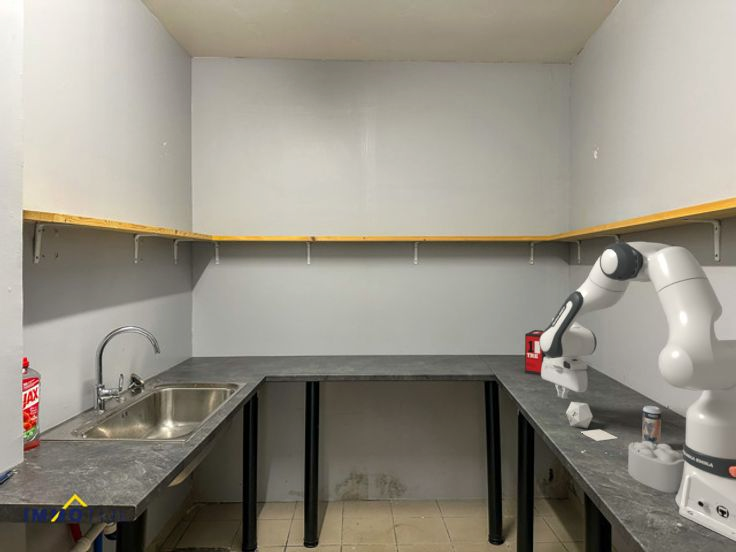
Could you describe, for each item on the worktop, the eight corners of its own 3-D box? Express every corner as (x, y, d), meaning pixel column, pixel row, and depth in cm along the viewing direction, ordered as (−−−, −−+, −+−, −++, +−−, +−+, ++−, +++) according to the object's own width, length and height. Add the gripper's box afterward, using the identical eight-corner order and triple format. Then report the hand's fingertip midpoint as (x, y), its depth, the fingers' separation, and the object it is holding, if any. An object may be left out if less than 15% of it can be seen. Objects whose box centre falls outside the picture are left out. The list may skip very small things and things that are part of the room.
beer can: (640, 446, 135) (640, 407, 134) (644, 441, 138) (645, 404, 138) (658, 450, 131) (659, 411, 131) (662, 446, 135) (663, 407, 134)
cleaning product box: (534, 366, 236) (535, 329, 235) (552, 369, 230) (552, 331, 230) (524, 373, 222) (525, 334, 222) (543, 375, 217) (543, 335, 216)
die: (560, 422, 156) (560, 406, 151) (577, 408, 158) (577, 392, 153) (581, 438, 150) (581, 421, 144) (597, 423, 152) (598, 406, 147)
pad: (617, 438, 141) (618, 437, 141) (597, 441, 138) (597, 440, 138) (599, 429, 148) (599, 429, 148) (580, 432, 146) (580, 431, 146)
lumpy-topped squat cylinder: (668, 495, 107) (669, 460, 106) (618, 472, 118) (618, 440, 118) (693, 485, 111) (694, 452, 111) (642, 464, 123) (642, 434, 123)
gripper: (537, 354, 168) (536, 390, 168) (575, 366, 148) (575, 407, 149) (551, 353, 170) (550, 388, 170) (591, 365, 150) (590, 405, 150)
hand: (562, 397), depth 159 cm, fingers closed
